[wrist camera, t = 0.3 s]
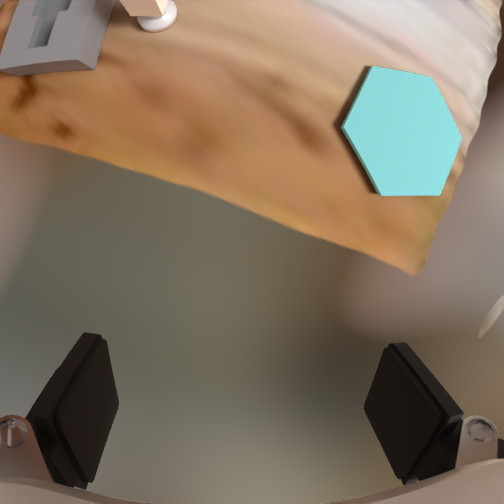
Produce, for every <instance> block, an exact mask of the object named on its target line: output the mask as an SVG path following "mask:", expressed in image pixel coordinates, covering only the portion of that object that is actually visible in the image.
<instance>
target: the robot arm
mask: <svg viewBox="0 0 504 504" xmlns="http://www.w3.org/2000/svg"><path fill="white" fill-rule="evenodd" d="M118 405H119V400H118V395H117V390H116V386H115V381H114V377H113V372H112V367H111V362H110V356H109V351H108V346H107V341H106V340H105V339H102V336H101V335H99V334H93V333H87V332H85V333H83V334H82V335H81V337H80V338H79V340H78V341H77V343H76V344H75V345H74V347H73V348H72V350H71V351H70V352H69V354H68V355H67V357H66V358H65V360H64V361H63V363H62V364H61V366H60V367H58V369H57V370H56V371H55V372H54V374H53V375H52V377H51V378H50V380H49V381H48V383H47V384H46V386H45V388H44V389H43V391H42V392H41V394H40V395H39V397H38V398H37V400H36V402H35V403H34V405H33V406H32V408H31V410H30V411H29V413H28V415H27V416H26V418H23V417H21V416H18V415H6V416H4V417H1V418H0V504H150V503H143V502H137V501H132V500H126V499H120V498H115V497H110V496H106V495H101V494H97V493H93V492H88V491H85V490H86V488H87V485H88V482H90V483H91V482H93V480H94V478H95V475H96V472H97V469H98V465H99V462H100V459H101V456H102V453H103V450H104V447H105V444H106V441H107V438H108V435H109V432H110V430H111V427H112V424H113V421H114V418H115V415H116V413H117V410H118ZM364 410H365V413H366V415H367V417H368V419H369V421H370V423H371V425H372V427H373V430H374V432H375V434H376V436H377V438H378V440H379V442H380V444H381V446H382V448H383V450H384V452H385V454H386V456H387V458H388V461H389V463H390V465H391V467H392V469H393V471H394V473H395V475H396V477H397V478H398V479H401V481H402V483H403V485H404V486H402V487H398V488H394V489H391V490H387V491H383V492H379V493H375V494H371V495H366V496H362V497H357V498H352V499H347V500H341V501H335V502H329V503H323V504H504V440H502V439H499V438H498V433H497V429H496V427H495V425H494V424H493V423H492V422H491V421H489V420H488V419H486V418H484V417H481V416H470V417H468V418H466V419H465V420H464V422H463V420H462V419H461V417H462V416H463V414H464V413H463V411H462V410H461V409H460V408H459V406H458V405H457V404H456V403H455V401H454V400H453V399H452V398H451V396H450V395H449V394H448V393H447V391H446V390H445V389H444V388H443V386H442V385H441V384H440V383H439V381H438V380H437V379H436V378H435V377H434V375H433V374H432V373H431V372H430V371H429V369H428V368H427V367H426V366H425V365H424V363H423V362H422V361H421V360H420V359H419V357H418V356H417V355H416V354H415V353H414V352H413V350H412V349H411V348H410V347H409V346H408V345H407V344H406V343H405V342H401V343H391V344H389V345H388V347H387V348H385V349H384V350H383V353H382V356H381V359H380V362H379V365H378V368H377V371H376V374H375V377H374V379H373V382H372V385H371V388H370V390H369V393H368V396H367V398H366V401H365V404H364ZM418 480H419V482H417V481H418ZM414 482H415V483H414ZM411 483H412V484H411ZM74 487H78V488H81V489H85V490H81V489H76V488H74Z"/></svg>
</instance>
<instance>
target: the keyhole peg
mask: <svg viewBox="0 0 504 504" xmlns="http://www.w3.org/2000/svg"><path fill="white" fill-rule="evenodd" d="M119 1H120V2H121V4H122V5H123V6H124V8H125V9H126V10H127V12H128V13H129V14H130V16H137V20H138V22H139V24H140V25H141V27H142V28H143V29H144V30H146V31H148V32H152V33H157V32H162V31H164V30H166V29H168V28H170V27H171V26H172V25H173V24H174V23H175V21H176V19H177V16H178V12H177V9H176V6H175V4H174V2H173V1H172V0H119Z"/></svg>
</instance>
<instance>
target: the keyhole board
mask: <svg viewBox="0 0 504 504" xmlns="http://www.w3.org/2000/svg"><path fill="white" fill-rule="evenodd" d="M115 2H116V0H19V3H18V5H17V8H16V10H15V13H14V15H13V18H12V21H11V23H10V26H9V29H8V32H7V35H6V38H5V41H4V44H3V47H2V51H1V54H0V71H1V72H5V73H9V74H12V75H15V76H22V75H30V74H39V73H49V72H61V71H78V70H95V68H96V64H97V60H98V56H99V52H100V49H101V45H102V42H103V38H104V35H105V32H106V28H107V25H108V22H109V19H110V16H111V13H112V10H113V7H114V5H115Z"/></svg>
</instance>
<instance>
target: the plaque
mask: <svg viewBox="0 0 504 504" xmlns="http://www.w3.org/2000/svg"><path fill="white" fill-rule="evenodd" d="M341 129H342V131H343V133H344V134H345V136H346V138H347V139H348V141H349V143H350V144H351V146H352V148H353V150H354V151H355V153H356V155H357V157H358V158H359V160H360V162H361V164H362V166H363V167H364V169H365V171H366V173H367V175H368V177H369V179H370V180H371V182H372V184H373V186H374V188H375V190H376V192H377V194H378V195H380V196H403V195H440V194H441V191H442V189H443V186H444V184H445V182H446V179H447V177H448V174H449V172H450V169H451V167H452V164H453V161H454V159H455V156H456V153H457V151H458V148H459V145H460V142H461V140H462V138H461V135H460V133H459V131H458V128H457V126H456V124H455V122H454V120H453V117H452V115H451V113H450V111H449V109H448V107H447V105H446V103H445V101H444V99H443V97H442V95H441V93H440V91H439V90H438V88H437V86H436V84H435V82H434V80H433V79H432V77H428V76H423V75H419V74H414V73H409V72H404V71H399V70H393V69H387V68H381V67H374V66H372V67H371V68H369V70H368V72H367V74H366V76H365V78H364V80H363V83H362V85H361V87H360V89H359V91H358V93H357V95H356V97H355V99H354V101H353V103H352V105H351V107H350V109H349V112H348V114H347V116H346V118H345V120H344V122H343V124H342V126H341Z"/></svg>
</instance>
